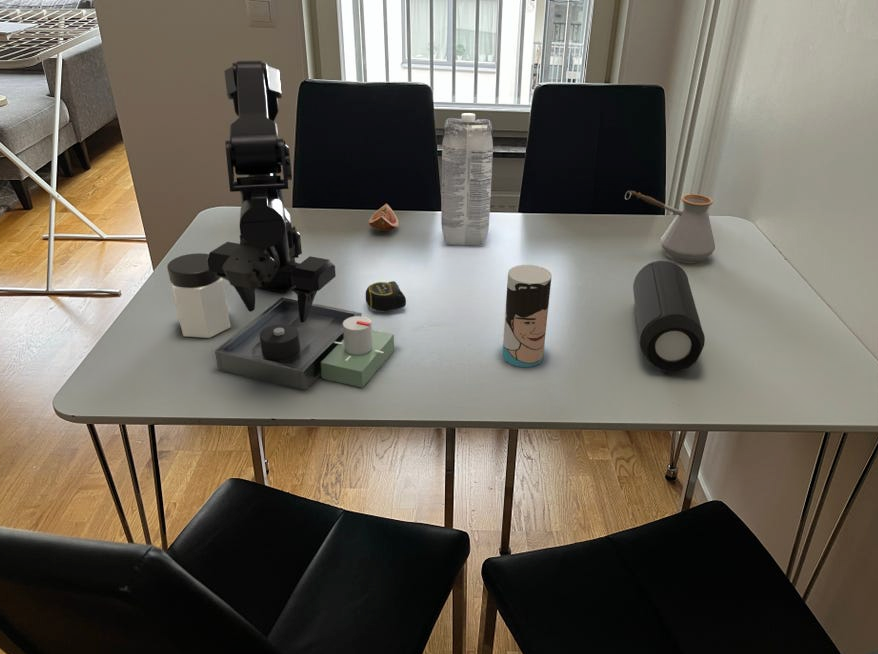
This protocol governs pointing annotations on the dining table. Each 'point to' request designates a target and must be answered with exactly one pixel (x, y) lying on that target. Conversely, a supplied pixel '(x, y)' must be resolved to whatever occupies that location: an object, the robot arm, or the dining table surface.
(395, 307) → the tape measure
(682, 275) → the portable speaker
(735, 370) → the dining table surface
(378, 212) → the fruit slice
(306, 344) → the sink
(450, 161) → the juice carton
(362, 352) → the tap knob
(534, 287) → the cup
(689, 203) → the coffee pot
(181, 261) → the jar
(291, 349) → the stopper
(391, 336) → the panel
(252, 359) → the grey metal tray
